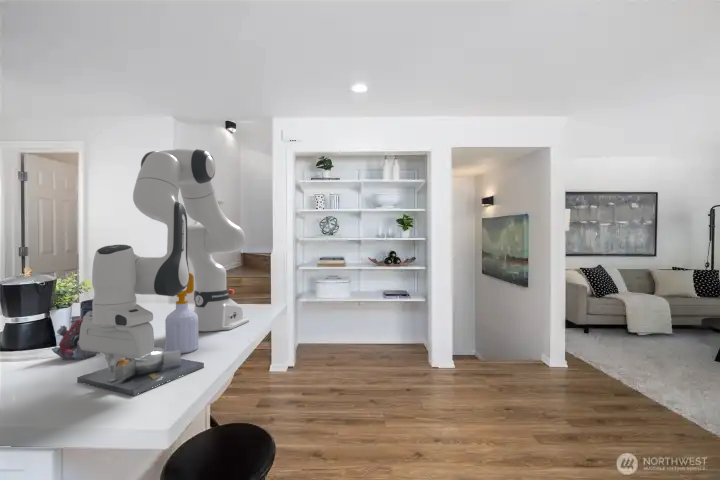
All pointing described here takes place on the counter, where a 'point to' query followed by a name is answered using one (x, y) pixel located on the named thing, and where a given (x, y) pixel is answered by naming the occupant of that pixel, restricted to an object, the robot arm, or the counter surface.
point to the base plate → (138, 378)
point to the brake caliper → (71, 343)
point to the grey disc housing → (147, 363)
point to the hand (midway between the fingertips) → (115, 371)
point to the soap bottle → (182, 324)
